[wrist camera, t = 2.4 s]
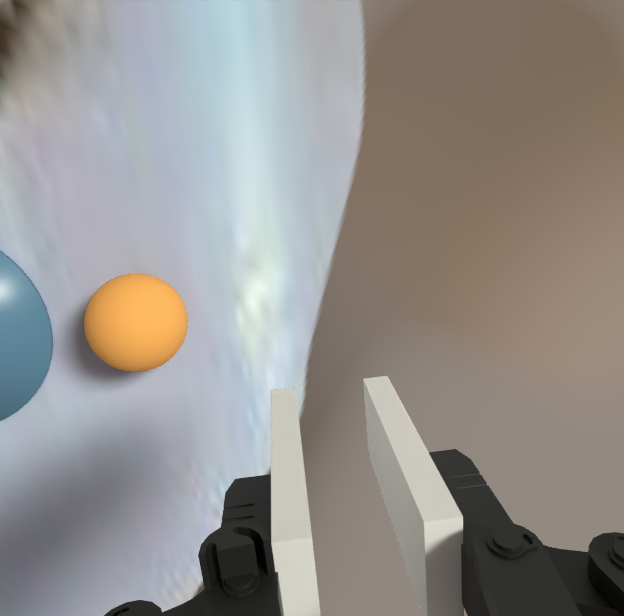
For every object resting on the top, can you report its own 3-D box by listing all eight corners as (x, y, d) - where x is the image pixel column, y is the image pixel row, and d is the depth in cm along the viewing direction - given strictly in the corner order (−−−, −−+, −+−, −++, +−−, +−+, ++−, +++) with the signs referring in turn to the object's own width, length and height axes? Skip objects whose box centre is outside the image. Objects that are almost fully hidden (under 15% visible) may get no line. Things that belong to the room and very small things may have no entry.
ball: (159, 367, 33) (138, 407, 27) (84, 315, 31) (46, 347, 26) (211, 301, 32) (200, 330, 26) (136, 246, 30) (108, 264, 25)
